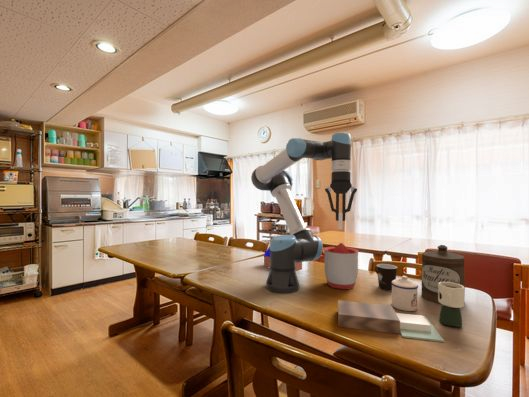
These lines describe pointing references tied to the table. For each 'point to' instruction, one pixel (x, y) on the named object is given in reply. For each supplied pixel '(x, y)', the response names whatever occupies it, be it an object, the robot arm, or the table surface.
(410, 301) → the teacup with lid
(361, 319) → the block
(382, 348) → the table surface
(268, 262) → the house
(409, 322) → the tile
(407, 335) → the mat
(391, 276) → the coffee mug
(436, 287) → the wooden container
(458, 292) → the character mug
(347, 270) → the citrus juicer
